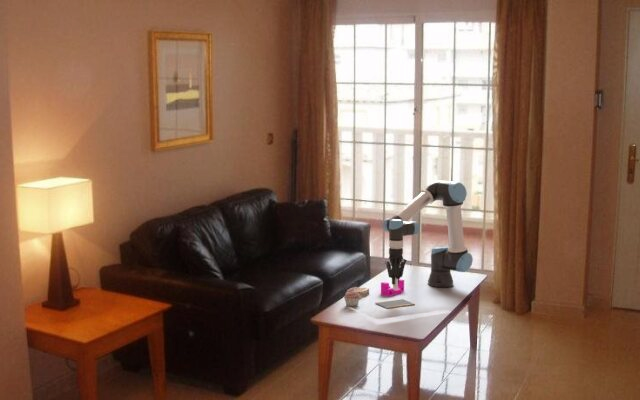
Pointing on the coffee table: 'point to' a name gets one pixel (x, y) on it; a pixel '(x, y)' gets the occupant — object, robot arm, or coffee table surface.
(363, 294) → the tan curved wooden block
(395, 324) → the coffee table surface
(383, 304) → the mat
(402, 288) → the toy block
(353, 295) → the cupcake
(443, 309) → the coffee table surface
